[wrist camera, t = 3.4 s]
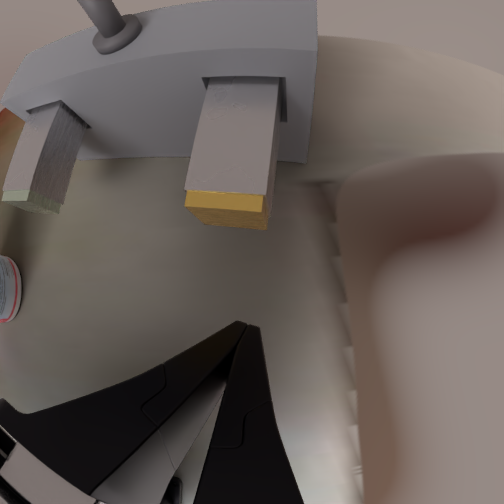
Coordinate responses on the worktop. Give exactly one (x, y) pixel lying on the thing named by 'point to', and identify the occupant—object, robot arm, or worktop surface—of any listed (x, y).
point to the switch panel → (171, 72)
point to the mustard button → (236, 152)
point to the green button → (44, 159)
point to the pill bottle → (9, 289)
